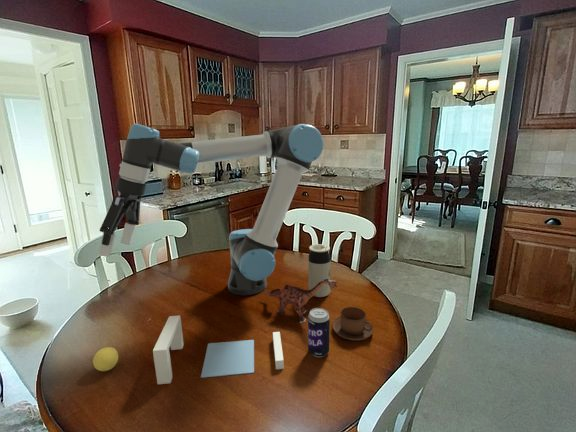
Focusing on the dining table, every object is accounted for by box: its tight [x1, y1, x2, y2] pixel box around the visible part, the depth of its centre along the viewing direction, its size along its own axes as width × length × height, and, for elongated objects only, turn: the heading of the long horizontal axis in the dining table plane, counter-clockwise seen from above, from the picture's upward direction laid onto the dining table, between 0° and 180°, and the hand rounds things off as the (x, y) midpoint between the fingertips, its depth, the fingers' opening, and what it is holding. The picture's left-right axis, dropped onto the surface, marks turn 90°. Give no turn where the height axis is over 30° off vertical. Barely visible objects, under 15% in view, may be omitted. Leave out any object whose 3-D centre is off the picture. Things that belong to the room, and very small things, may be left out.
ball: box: [92, 346, 119, 372], centre depth 79 cm, size 6×6×6 cm
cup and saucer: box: [332, 306, 374, 341], centre depth 93 cm, size 12×12×6 cm
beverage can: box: [307, 307, 331, 358], centre depth 83 cm, size 6×6×12 cm
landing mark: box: [200, 339, 255, 379], centre depth 83 cm, size 13×13×1 cm
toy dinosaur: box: [263, 279, 338, 324], centre depth 102 cm, size 8×30×15 cm, turn 60°
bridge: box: [152, 315, 185, 385], centre depth 81 cm, size 3×15×9 cm, turn 6°
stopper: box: [272, 331, 285, 370], centre depth 84 cm, size 2×12×2 cm, turn 6°
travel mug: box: [308, 243, 331, 298], centre depth 115 cm, size 8×8×18 cm
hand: (115, 249), depth 91 cm, fingers open, 13 cm apart
